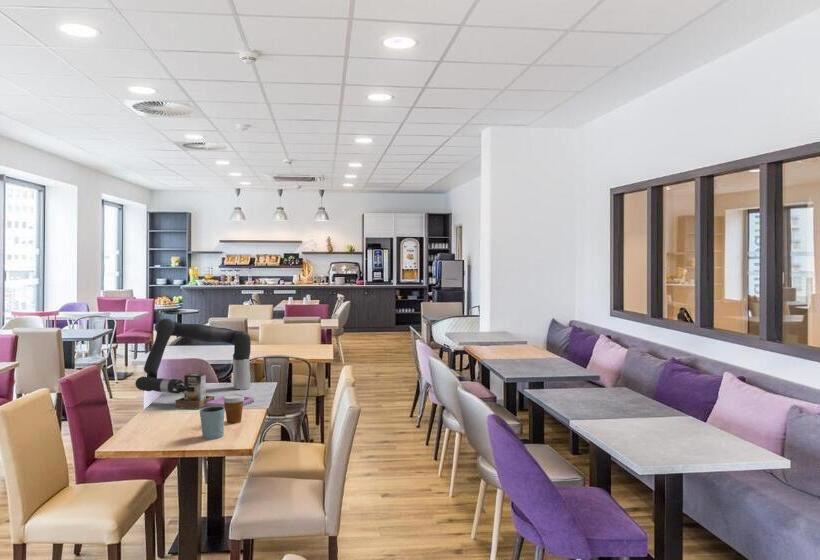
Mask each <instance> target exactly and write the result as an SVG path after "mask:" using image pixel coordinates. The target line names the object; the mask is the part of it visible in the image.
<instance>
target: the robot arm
mask: <svg viewBox="0 0 820 560" xmlns="http://www.w3.org/2000/svg"><path fill="white" fill-rule="evenodd" d="M154 330H155V331H156V336H155V340H154V342H153V345H152V347H151V349H150V352H149V353H148V355H147V357H146V361H145V364H144V365H143V366H144V367H143V372H145V373H146V376H140V377H138V378H137V379H136V380H135V383H134V385H135V387H136V389H138V390H139V391H144V392H152V391H154V392H159V393H166V394H175V395H177V394H181V393H182V394H183V393H184V392H187V391H188V392H194V387H184V381H183V380H182V379H180V378H160V377H159V378H158V371H159V368H160V365H161V362H162V359H163V356H164V353H165V350H166V347H167V344H168V342H169V340H170V338H171V337H182V338H184V339H185V338H186V339H190V340H193V341H197V342H204V343H225V344H231V345H233V346H234V347H233V348H234V351H233V354H232V366H233V367H232V371H233V372H232V377H233V378H232V382H233V383H232V385H233V386H232V388H234V390H237V389H240V390H241V391H242V390H247V389H250V388H251V370H250V368H251V367H250V366H251V364H250V355H251V346H252V345H251V336H250V334H249V333H248V332H246V331H243V330H230V329H223V328H220V327H216V326H211V325H206V324H200V323H181V322H176V321H174V320H172V319H171V318H161V319H159V320H158V321H157V322H156V323H155V325H154ZM240 390H239V391H240Z"/></svg>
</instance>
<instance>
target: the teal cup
mask: <svg viewBox="0 0 820 560" xmlns="http://www.w3.org/2000/svg"><path fill="white" fill-rule="evenodd" d="M225 413H226V412H225V408H224V407H222V406H209V407H203V408H201V409H199V416H200V424H201V433H202V434H201V435H202V439H204V440H217V439H221V438H223V437H224V435H225V434H224V431H225V421H224V420H225Z"/></svg>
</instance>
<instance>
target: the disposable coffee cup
mask: <svg viewBox="0 0 820 560" xmlns="http://www.w3.org/2000/svg"><path fill="white" fill-rule="evenodd" d="M226 395H227V396H225V395H223V396H224V399H223V401H224V404H225V412H224V413H225V417H226V423H227V424H230V425H233V424H235V423H236V424H239V423H241V422H242V418H243V417H242V415H243V401H244V397H245V396H244V395H243V394H239V393H237V394H236V393H235V394H234V393H233V394H226ZM243 396H244V397H243Z"/></svg>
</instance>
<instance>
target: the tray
mask: <svg viewBox="0 0 820 560" xmlns="http://www.w3.org/2000/svg"><path fill="white" fill-rule="evenodd" d="M227 395H228V394H225V395H223V396H220V397H217V398H214V400H212V401H209V402H207V403H206V407H209V406H222V407H224V408H225V404H224V401H223V399H224V396H227ZM243 397H244V401H243V406H244V405H246V406H248V405H250V404H253V403H254V402H255V400H254V399H255V397H254V396H244V395H243ZM252 402H253V403H252ZM247 404H248V405H247ZM244 407H245V406H244Z"/></svg>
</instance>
